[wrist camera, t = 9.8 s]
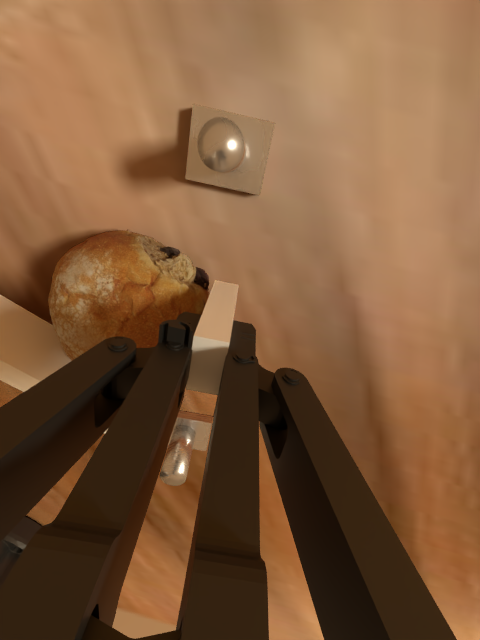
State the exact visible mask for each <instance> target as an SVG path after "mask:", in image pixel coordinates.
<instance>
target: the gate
mask: <svg viewBox="0 0 480 640" xmlns="http://www.w3.org/2000/svg"><path fill="white" fill-rule="evenodd" d="M71 361H72V360H71V359H70V358H69V357H68V356H67V355H66V353H65V352H64V350H63V348H62V346H61V344H60V342H59V339H58V336H57V334H56V332H55V330H54V327H53V325H51V324H50V323H48V322H46V321H45V320H43V319H41V318H39V317H38V316H36V315H34V314H33V313H31V312H29V311H27V310H26V309H24V308H22V307H21V306H19V305H17V304H16V303H14V302H12V301H10V300H9V299H7V298H5V297H4V296H2V295H0V380H1V381H3V382H5V383H7V384H9V385H11V386H13V387H15V388H17V389H19V390H21V391H23V392H25V391H26V390H28V389H29V388H31V387H33V386H34V385H36V384H37V383H39V382H40V381H42V380H43V379H45V378H46V377H48V376H49V375H51V374H52V373H54V372H55V371H57V370H59V369H60V368H62V367H63V366H65V365H66V364H68V363H69V362H71ZM107 430H108V429H107ZM107 430H106V431H107ZM106 431H105V432H104V433H106ZM167 448H168V447H167Z"/></svg>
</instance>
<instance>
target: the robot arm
mask: <svg viewBox="0 0 480 640" xmlns="http://www.w3.org/2000/svg"><path fill="white" fill-rule="evenodd" d="M238 287H239V285H237V284H232V283H227V282H222V281H218V280H215V282H214V285H213V287H212V290H211V292H210V295H209V297H208V300H207V303H206V305H205V308H204V310H203V313H202V315H200V314H195V313H190V312H183V313H182V314H180V315H178V317H177V319H176V320H166V321H164V322H162V323H161V324H160V326H159V338H158V343H157V345H156V346H155V347H150V348H136V343H135V341H134V340H132V339H130V338H127V337H121V336H120V337H119V336H116V337H110V338H107V339H105V340H103V341H101V342H100V343H98V344H97V345H95V346H94V347H92V348H91V349H89V350H88V351H86V352H85V353H83V354H82V355H80V356H78V357H77V358H75V359H74V360H72V361H71V362H69V363H68V364H66V365H65V366H63V367H62V368H60V369H59V370H57V371H55V372H54V373H52V374H51V375H49V376H48V377H46V378H45V379H43V380H42V381H40V382H39V383H37V384H36V385H34V386H33V387H31V388H29V389H28V390H26V391H25V392H23V393H22V394H20V395H19V396H17V397H16V398H14V399H13V400H11V401H10V402H8V403H6V404H5V405H3V406H2V407H0V640H269V630H268V591H267V572H266V566H265V562H264V561H263V560H262V558H261V555H260V525H259V421H260V429H261V432H262V435H263V439H264V442H265V445H266V449H267V452H268V455H269V459H270V462H271V465H272V468H273V472H274V475H275V478H276V482H277V485H278V488H279V492H280V495H281V498H282V502H283V505H284V508H285V511H286V515H287V518H288V521H289V525H290V528H291V531H292V535H293V538H294V541H295V545H296V548H297V551H298V554H299V558H300V561H301V564H302V568H303V571H304V574H305V578H306V581H307V584H308V587H309V591H310V594H311V597H312V601H313V604H314V607H315V611H316V614H317V617H318V621H319V624H320V627H321V630H322V634H323V637H324V640H457V639H456V637H455V636H454V634H453V632H452V630H451V629H450V627H449V625H448V623H447V622H446V620H445V618H444V616H443V615H442V613H441V611H440V610H439V608H438V606H437V604H436V603H435V601H434V599H433V597H432V596H431V594H430V592H429V590H428V589H427V587H426V585H425V583H424V582H423V580H422V578H421V577H420V575H419V573H418V571H417V570H416V568H415V566H414V564H413V563H412V561H411V559H410V557H409V556H408V554H407V552H406V550H405V549H404V547H403V545H402V544H401V542H400V540H399V538H398V537H397V535H396V533H395V531H394V530H393V528H392V526H391V524H390V523H389V521H388V519H387V517H386V516H385V514H384V512H383V510H382V509H381V507H380V505H379V504H378V502H377V500H376V498H375V497H374V495H373V493H372V491H371V490H370V488H369V486H368V484H367V483H366V481H365V479H364V477H363V476H362V474H361V472H360V471H359V469H358V467H357V465H356V464H355V462H354V460H353V458H352V457H351V455H350V453H349V451H348V450H347V448H346V446H345V444H344V443H343V441H342V439H341V438H340V436H339V434H338V432H337V431H336V429H335V427H334V425H333V424H332V422H331V420H330V418H329V417H328V415H327V413H326V411H325V410H324V408H323V406H322V405H321V403H320V401H319V399H318V398H317V396H316V394H315V392H314V391H313V389H312V387H311V385H310V384H309V382H308V380H307V379H306V377H305V376H304V375H303V374H301V373H300V372H299V371H296V370H294V369H291V368H280V369H278V370H276V372H275V373H273V372H270V371H268V370H266V369H264V368H263V367H261V366H260V365H259V364H258V359H257V357H256V356H255V343H256V341H255V340H256V330H255V328H254V327H253V325H252V324H248V323H243V322H239V321H234V320H233V319H234V313H235V306H236V300H237V294H238ZM186 384H187V385H186ZM185 387H186V389H188V390H193V391H198V392H204V393H209V394H215V395H218V397H217V402H216V406H215V411H214V416H213V417H214V418H213V424H212V430H211V435H210V441H209V447H208V453H207V458H206V464H205V470H204V475H203V481H202V487H201V492H200V498H199V504H198V510H197V515H196V521H195V527H194V532H193V538H192V544H191V550H190V555H189V561H188V567H187V572H186V578H185V584H184V589H183V595H182V601H181V606H180V611H179V616H178V621H177V627H176V631H171V632H167V633H162V634H157V635H152V636H148V637H143V638H138V639H132V638H129V637H127V636H125V635H123V634H122V633H120V632H119V631H117V630H115V629H114V628H112V625H113V621H114V618H115V614H116V609H117V605H118V600H119V596H120V592H121V589H122V586H123V582H124V579H125V576H126V573H127V570H128V567H129V564H130V561H131V558H132V555H133V552H134V549H135V545H136V542H137V539H138V536H139V533H140V530H141V527H142V524H143V521H144V518H145V515H146V512H147V509H148V505H149V502H150V499H151V496H152V493H153V490H154V487H155V484H156V481H157V478H158V475H159V472H160V468H161V465H162V462H163V459H164V456H165V453H166V450H167V447H168V444H169V441H170V438H171V435H172V432H173V428H174V425H175V422H176V419H177V416H178V413H179V410H180V407H181V404H182V401H183V398H184V391H185ZM107 429H108V430H107ZM106 430H107V431H106ZM105 431H106V433H105V435H104V436H103V438H102V440H101V442H100V443H99V445H98V447H97V449H96V450H95V452H94V454H93V455H92V457H91V459H90V461H89V462H88V464H87V466H86V468H85V469H84V471H83V473H82V474H81V476H80V478H79V480H78V481H77V483H76V485H75V487H74V488H73V490H72V492H71V493H70V495H69V497H68V499H67V500H66V502H65V504H64V505H63V507H62V509H61V511H60V512H59V514H58V515H57V517H56V518H55V520H54V521H53V522H52V523H50V524H47V525H44V526H40V525H39V524H37V523H36V522H34V521H33V520H31V519H29V518H27V517H25V516H26V515H27V514H28V512H29V511H30V510H31V509H32V508H33V507H34V506H35V505H36V504H37V503H38V502H39V501H40V500H41V499H42V498H43V497H44V496H45V495H46V493H47V492H48V491H49V490H50V489H51V488H52V487H53V486H54V485H55V484H56V483H57V482H58V481H59V480H60V479H61V478H62V477H63V476H64V474H65V473H66V472H67V471H68V470H69V469H70V468H71V467H72V466H73V465H74V464H75V463H76V462H77V461H78V460H79V459H80V458H81V456H82V455H83V454H84V453H85V452H86V451H87V450H88V449H89V448H90V447H91V446H92V445H93V444H94V443H95V442H96V441H97V440H98V439H99V437H100V436H101V435H102V434H103V433H104V432H105Z"/></svg>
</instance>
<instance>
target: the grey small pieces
mask: <svg viewBox="0 0 480 640" xmlns="http://www.w3.org/2000/svg"><path fill="white" fill-rule="evenodd" d="M274 126H275V123H274V122H270V121H265V120H261V119H257V118H252V117H248V116H244V115H239V114H235V113H231V112H226V111H222V110H218V109H214V108H209V107H205V106H201V105H196V104H193V107H192V116H191V126H190V136H189V146H188V156H187V166H186V176H185V179H187V180H192V181H196V182H201V183H206V184H210V185H215V186H219V187H224V188H228V189H233V190H238V191H242V192H247V193H251V194H256V195H260V192H261V188H262V183H263V178H264V173H265V169H266V164H267V159H268V154H269V150H270V145H271V140H272V135H273V131H274ZM212 419H213V416H208V415H202V414H196V413H191V412H185V411H179V413H178V416H177V419H176V422H175V425H174V428H173V432H172V435H171V438H170V441H169V444H168V445H169V447H168V450H167V453H166V457H165V460H164V463H163V466H162V470H161V473H160V478H161V480H162V481H163V482H164V483H166V484H168V485H173V486H177V485H181V484H183V483H184V482H185V481H186V477H187V472H188V467H189V463H190V458H191V454H192V449H196V450H202V451H206V448H207V444H208V439H209V434H210V429H211V425H212Z"/></svg>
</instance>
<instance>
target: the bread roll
mask: <svg viewBox="0 0 480 640" xmlns="http://www.w3.org/2000/svg"><path fill="white" fill-rule="evenodd" d="M192 264H193V263H192V261H191V260H190V258H189V257H188V256H185V254H184V253H181V252H180V251H179V250H178V249H175V248H171V247H165V246H164V245H162V244H161V243H159V242H157V241H156V240H155V239H153V238H151V237H148V236H144V235H141V234H137V233H133V232H131V231H130V230H127V231H110V232H104V233H101V234H98V235H95V236H92V237H90V238H87V239H86V240H85V241H84V242H82V243H80V244H78V245H76V246H74V247H72V248H71V249H69V250H68V251H67V252H66V253H65V254H64V255H63V256H62V257H61V259H60V260H59V261H58V262H57V264H56V267H55V271H54V273H53V276H52V284H51V289H50V293H49V298H48V302H49V303H48V304H49V310H50V315H51V318H52V323H53V327H54V330H55V332H56V334H57V336H58V339H59V342H60V344H61V346H62V348H63V350H64V352H65V353H66V355H67V356H68V357H69V358H70V359H71V360H74V359H75V358H77V357H78V356H80V355H82V354H83V353H85V352H86V351H88V350H89V349H91V348H92V347H94V346H95V345H97V344H98V343H100V342H101V341H103V340H105V339H107V338H110V337H116V336H119V337H120V336H121V337H127V338H130V339H132V340H134V341H135V343H136V348H150V347H155V346H156V345H157V343H158V338H159V326H160V324H161V323H162V322H164V321H166V320H176V319H177V317H178V315H180V314H182V313H183V312H190V313H195V314H200V315H202V313H203V310H204V308H205V305H206V303H207V300H208V297H209V295H210V294H209V292H208V290H209V289H208V285H209V278H208V275H207V273H205V270H203V269H201V268H197V267H194V266H193V265H192Z"/></svg>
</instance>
